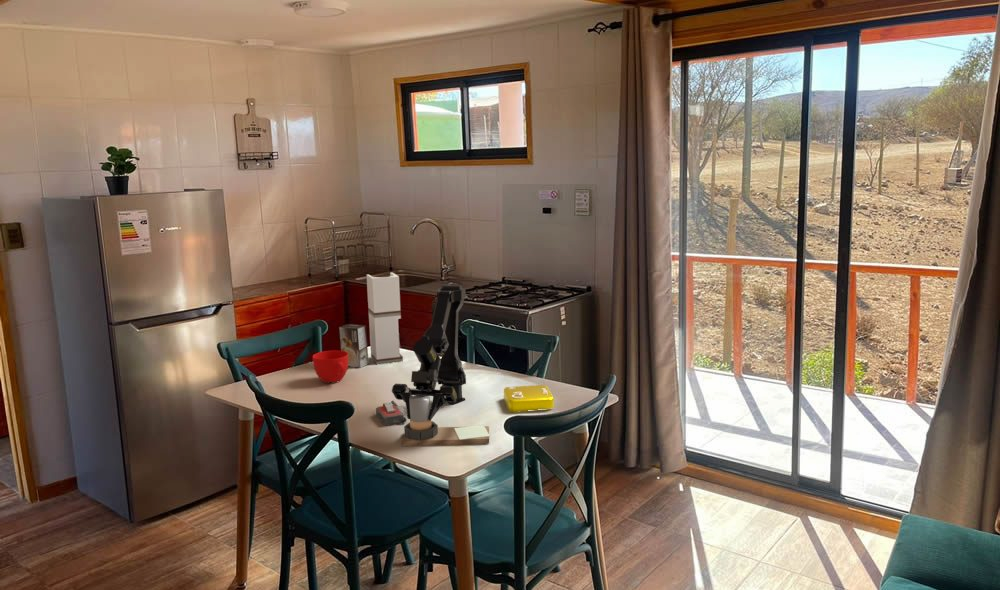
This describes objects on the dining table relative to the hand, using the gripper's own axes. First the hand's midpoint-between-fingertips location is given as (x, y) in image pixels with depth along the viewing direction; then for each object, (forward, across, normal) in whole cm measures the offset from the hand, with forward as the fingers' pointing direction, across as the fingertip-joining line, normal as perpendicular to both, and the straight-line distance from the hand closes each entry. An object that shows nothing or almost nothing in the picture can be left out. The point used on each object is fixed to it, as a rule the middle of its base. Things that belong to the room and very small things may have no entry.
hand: (419, 419), depth 214 cm
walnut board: (+2, +7, +7) cm, 10 cm away
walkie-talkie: (-9, -16, +19) cm, 26 cm away
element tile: (-21, +26, +31) cm, 45 cm away
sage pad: (0, +14, +7) cm, 16 cm away
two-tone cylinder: (+3, 0, +5) cm, 5 cm away
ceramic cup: (-30, -49, +40) cm, 71 cm away
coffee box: (-46, -50, +56) cm, 89 cm away
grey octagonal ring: (+3, 0, +5) cm, 5 cm away
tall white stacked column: (-53, -41, +63) cm, 92 cm away
